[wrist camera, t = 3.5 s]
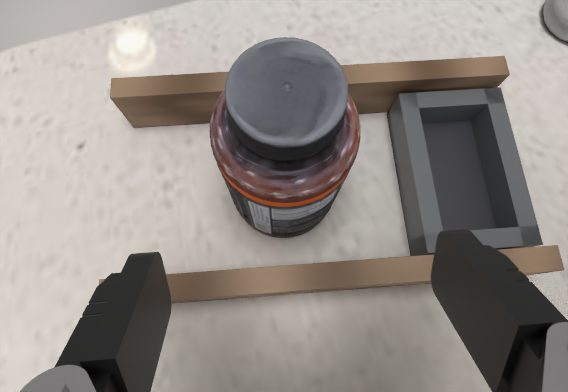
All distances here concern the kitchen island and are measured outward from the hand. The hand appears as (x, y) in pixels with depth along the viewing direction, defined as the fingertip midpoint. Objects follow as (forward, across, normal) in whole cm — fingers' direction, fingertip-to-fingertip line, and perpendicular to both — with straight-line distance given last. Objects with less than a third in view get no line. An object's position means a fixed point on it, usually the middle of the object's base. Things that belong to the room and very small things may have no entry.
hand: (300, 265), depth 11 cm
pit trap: (+11, -10, +4) cm, 16 cm away
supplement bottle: (+12, 0, +4) cm, 12 cm away
